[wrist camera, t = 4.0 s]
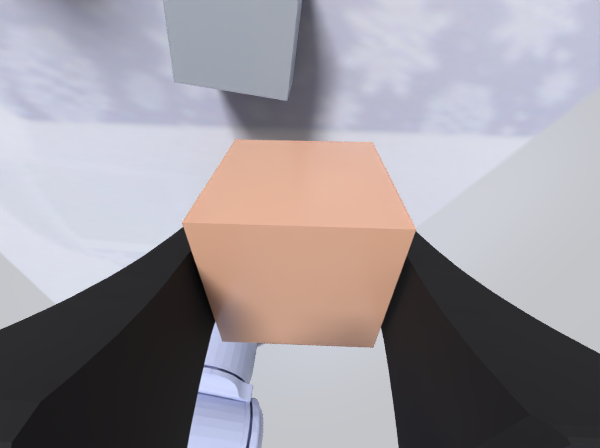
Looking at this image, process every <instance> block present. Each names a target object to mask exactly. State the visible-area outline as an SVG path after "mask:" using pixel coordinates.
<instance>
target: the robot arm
mask: <svg viewBox="0 0 600 448" xmlns="http://www.w3.org/2000/svg"><path fill="white" fill-rule="evenodd" d="M381 329H382V334H383V338H384V344H385V350H386V355H387V363H388V369H389V376H390V383H391V390H392V397H393V404H394V411H395V420H396V428H397V436H398V445H399V448H600V354H599V353H597V352H596V351H594V350H592V349H590V348H588V347H586V346H584V345H582V344H581V343H579V342H577V341H575V340H573V339H571V338H569V337H568V336H566V335H564V334H562V333H560V332H558V331H557V330H555V329H553V328H551V327H549V326H548V325H546V324H544V323H542V322H541V321H539V320H537V319H535V318H534V317H532V316H530V315H529V314H527V313H525V312H524V311H522V310H520V309H519V308H517V307H516V306H514V305H512V304H511V303H509V302H508V301H506V300H504V299H502V298H501V297H500V296H498V295H497V294H495V293H493V292H492V291H490V290H489V289H487V288H486V287H485V286H483V285H482V284H480V283H479V282H478V281H476V280H475V279H473V278H472V277H470V276H469V275H467V274H466V273H465V272H464V271H462V270H461V269H459V268H458V267H457V266H456V265H454V264H453V263H452V262H451V261H449V260H448V259H447V258H446V257H445V256H443V255H442V254H441V253H439V251H437V250H436V249H435V248H434V247H433V246H432V245H430V244H429V243H428V242H427V241H426V240H425V239H424V238H423V237H422V236H420V235H419V234H418V233H417V232H415V234H414V237H413V240H412V243H411V245H410V248H409V251H408V254H407V256H406V259H405V262H404V265H403V267H402V270H401V273H400V276H399V278H398V281H397V284H396V287H395V289H394V292H393V295H392V298H391V300H390V303H389V306H388V309H387V311H386V314H385V317H384V320H383V322H382V325H381ZM256 348H257V343H245V342H222V339H221V336H220V333H219V331H218V328H217V325H216V322H215V319H214V316H213V313H212V310H211V307H210V304H209V301H208V298H207V295H206V292H205V289H204V286H203V283H202V280H201V277H200V274H199V271H198V268H197V266H196V263H195V260H194V257H193V254H192V251H191V248H190V245H189V242H188V239H187V236H186V233H185V230H184V227H182V228H181V229H180V230H179V231H177V232H176V233H175V234H174V235H172V236H171V237H169V238H168V239H167V240H165V241H164V242H162V243H161V244H160V245H158V246H157V247H155V248H154V249H153V250H151V251H150V252H149V253H147V254H146V255H144V256H143V257H141V258H140V259H138V260H136V261H135V262H133V263H132V264H130V265H128V266H127V267H125V268H123V269H122V270H120V271H118V272H117V273H115V274H113V275H112V276H110V277H108V278H106V279H104V280H103V281H101V282H99V283H97V284H95V285H93V286H91V287H89V288H88V289H86V290H84V291H82V292H80V293H78V294H76V295H74V296H72V297H71V298H68V299H66V300H64V301H62V302H60V303H58V304H56V305H54V306H52V307H50V308H48V309H46V310H44V311H41V312H39V313H37V314H35V315H32V316H30V317H28V318H26V319H24V320H21V321H19V322H17V323H15V324H12V325H10V326H8V327H6V328H3V329H1V330H0V448H261V444H262V437H263V414H262V411H261V409H260V406H259V402H258V401H257V399H255V398H251V395H252V389H253V385H252V384H249V382H250V380H251V377H252V372H253V366H254V360H255V354H256Z"/></svg>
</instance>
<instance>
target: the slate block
mask: <svg viewBox="0 0 600 448" xmlns="http://www.w3.org/2000/svg"><path fill="white" fill-rule="evenodd" d="M163 3H164V10H165V18H166V25H167V33H168V40H169V47H170V55H171V62H172V69H173V77H174V82H176V83H182V84H188V85H194V86H200V87H206V88H212V89H218V90H224V91H230V92H236V93H242V94H248V95H254V96H260V97H266V98H272V99H278V100H284V101H287V100H288V96H289V93H290V90H291V86H292V83H293V77H294V69H295V60H296V52H297V43H298V34H299V26H300V17H301V9H302V0H163Z"/></svg>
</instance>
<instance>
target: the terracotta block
mask: <svg viewBox="0 0 600 448" xmlns="http://www.w3.org/2000/svg"><path fill="white" fill-rule="evenodd" d="M182 224H183V227H184V230H185V233H186V236H187V239H188V242H189V245H190V248H191V251H192V254H193V257H194V260H195V263H196V266H197V268H198V271H199V274H200V277H201V280H202V283H203V286H204V289H205V292H206V295H207V298H208V301H209V304H210V307H211V310H212V313H213V316H214V319H215V322H216V325H217V328H218V331H219V333H220V336H221V339H222V342H245V343H270V344H271V343H272V344H297V345H321V346H346V347H372V348H373V347H374V344H375V341H376V339H377V336H378V333H379V331H380V328H381V325H382V322H383V320H384V317H385V314H386V311H387V309H388V306H389V303H390V300H391V298H392V295H393V292H394V289H395V287H396V284H397V281H398V278H399V276H400V273H401V270H402V267H403V265H404V262H405V259H406V256H407V254H408V251H409V248H410V245H411V243H412V240H413V237H414V234H415V232H416V228H415V226H414V224H413V222H412V220H411V218H410V216H409V214H408V212H407V210H406V208H405V206H404V204H403V202H402V200H401V198H400V196H399V194H398V192H397V190H396V188H395V186H394V184H393V182H392V180H391V178H390V176H389V174H388V172H387V170H386V168H385V166H384V164H383V162H382V160H381V158H380V156H379V154H378V152H377V150H376V148H375V146H374V144H373V142H332V141H286V140H241V139H235V141H234V142H233V144H232V145H231V147H230V149H229V150H228V152H227V153H226V155H225V156H224V158H223V160H222V161H221V163H220V164H219V166H218V167H217V169H216V170H215V172H214V174H213V175H212V177H211V178H210V180H209V181H208V183H207V184H206V186H205V188H204V189H203V191H202V192H201V194H200V195H199V197H198V198H197V200H196V202H195V203H194V205H193V206H192V208H191V209H190V211H189V212H188V214H187V216H186V217H185V219H184V220H183V222H182Z"/></svg>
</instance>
